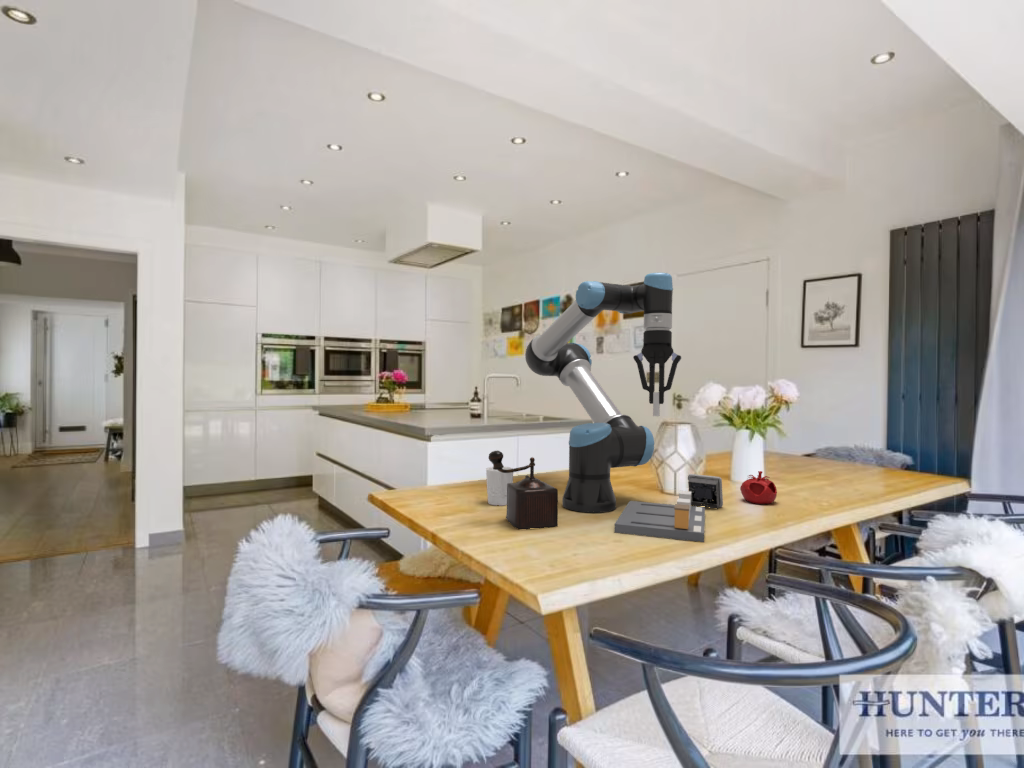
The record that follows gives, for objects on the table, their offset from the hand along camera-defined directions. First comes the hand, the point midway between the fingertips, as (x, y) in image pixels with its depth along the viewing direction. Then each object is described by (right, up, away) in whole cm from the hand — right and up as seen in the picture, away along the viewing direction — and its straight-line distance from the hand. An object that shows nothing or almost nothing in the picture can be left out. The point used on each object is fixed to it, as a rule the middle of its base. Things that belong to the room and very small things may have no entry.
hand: (656, 415), depth 148 cm
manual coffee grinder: (-37, -26, -14) cm, 48 cm away
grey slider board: (-2, -27, -12) cm, 29 cm away
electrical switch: (+16, -27, +6) cm, 32 cm away
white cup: (-43, -26, +8) cm, 51 cm away
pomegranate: (+34, -27, +13) cm, 46 cm away
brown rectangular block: (0, -24, -23) cm, 33 cm away
